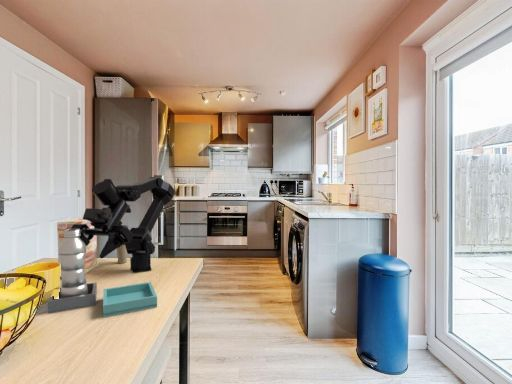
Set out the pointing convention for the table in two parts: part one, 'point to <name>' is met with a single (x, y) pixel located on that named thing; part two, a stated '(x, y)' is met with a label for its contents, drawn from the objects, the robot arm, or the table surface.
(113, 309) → the tray
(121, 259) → the beige column
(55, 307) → the open frame
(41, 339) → the table surface
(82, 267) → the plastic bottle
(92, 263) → the coffeecake box
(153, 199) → the robot arm
